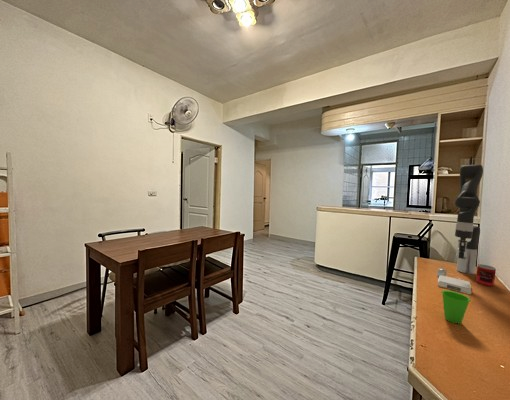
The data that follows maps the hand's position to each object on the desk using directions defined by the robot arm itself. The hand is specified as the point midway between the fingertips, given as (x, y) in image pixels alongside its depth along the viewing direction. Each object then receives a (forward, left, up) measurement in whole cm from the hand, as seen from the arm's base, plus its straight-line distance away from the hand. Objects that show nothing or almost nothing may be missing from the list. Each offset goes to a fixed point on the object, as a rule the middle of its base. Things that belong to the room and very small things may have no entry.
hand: (460, 257), depth 132 cm
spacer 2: (0, 0, 0) cm, 0 cm away
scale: (+10, -2, -16) cm, 19 cm away
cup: (+59, -2, -16) cm, 61 cm away
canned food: (-11, +12, -16) cm, 23 cm away
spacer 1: (-4, -8, -16) cm, 18 cm away
